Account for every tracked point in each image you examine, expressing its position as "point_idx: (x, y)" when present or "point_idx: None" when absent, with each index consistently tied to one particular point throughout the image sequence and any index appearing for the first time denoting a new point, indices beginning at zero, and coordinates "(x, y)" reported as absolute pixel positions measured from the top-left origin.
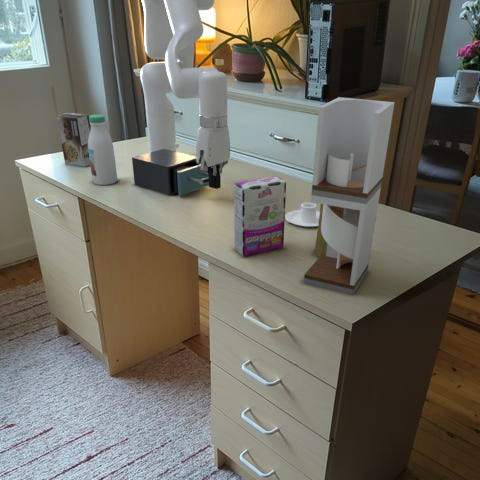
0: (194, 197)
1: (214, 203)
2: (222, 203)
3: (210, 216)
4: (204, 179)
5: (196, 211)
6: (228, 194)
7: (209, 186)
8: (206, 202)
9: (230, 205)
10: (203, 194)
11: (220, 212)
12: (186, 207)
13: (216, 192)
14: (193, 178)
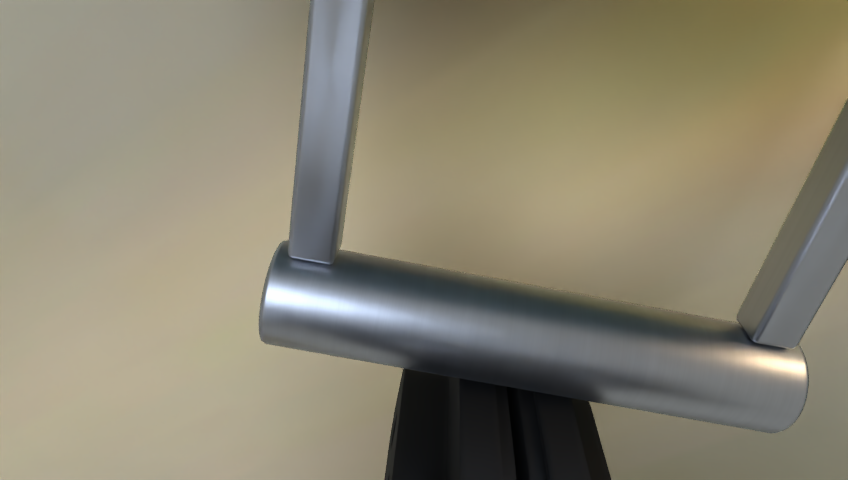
0: (388, 2)
1: None
2: (388, 400)
3: (29, 447)
4: (354, 355)
5: (15, 290)
6: None
7: None
8: None
9: (380, 475)
10: (575, 54)
11: (169, 474)
12: (11, 127)
13: (731, 177)
14: (335, 51)
